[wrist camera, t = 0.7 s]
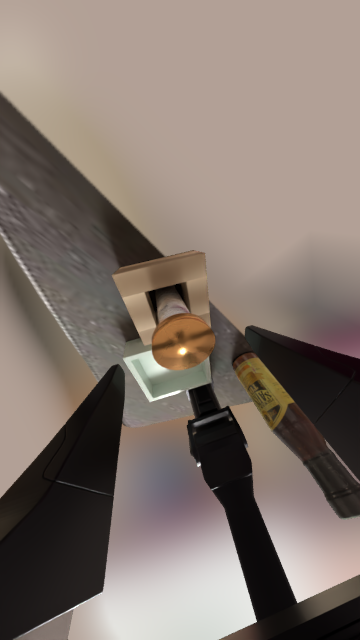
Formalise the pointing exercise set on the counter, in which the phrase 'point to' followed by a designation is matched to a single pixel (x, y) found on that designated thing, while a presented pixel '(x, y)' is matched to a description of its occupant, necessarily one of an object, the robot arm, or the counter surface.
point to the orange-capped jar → (179, 333)
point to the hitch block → (161, 274)
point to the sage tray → (162, 372)
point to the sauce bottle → (299, 435)
